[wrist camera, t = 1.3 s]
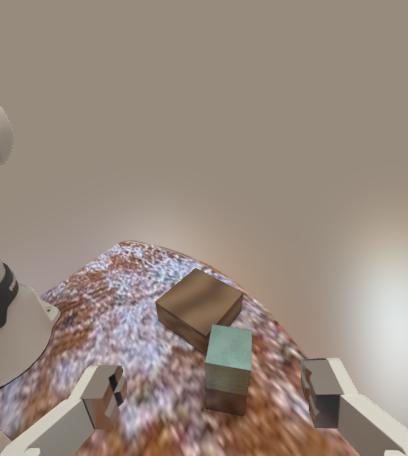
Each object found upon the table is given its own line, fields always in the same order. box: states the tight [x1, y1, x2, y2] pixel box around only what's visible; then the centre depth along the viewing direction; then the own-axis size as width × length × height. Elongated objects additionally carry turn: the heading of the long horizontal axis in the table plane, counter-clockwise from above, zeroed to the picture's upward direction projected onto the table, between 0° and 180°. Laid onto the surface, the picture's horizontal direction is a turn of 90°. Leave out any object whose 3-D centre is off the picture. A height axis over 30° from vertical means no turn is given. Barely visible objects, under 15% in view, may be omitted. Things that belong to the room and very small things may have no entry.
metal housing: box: [205, 324, 252, 416], centre depth 32 cm, size 5×5×11 cm
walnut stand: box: [156, 268, 243, 356], centre depth 44 cm, size 11×11×5 cm
